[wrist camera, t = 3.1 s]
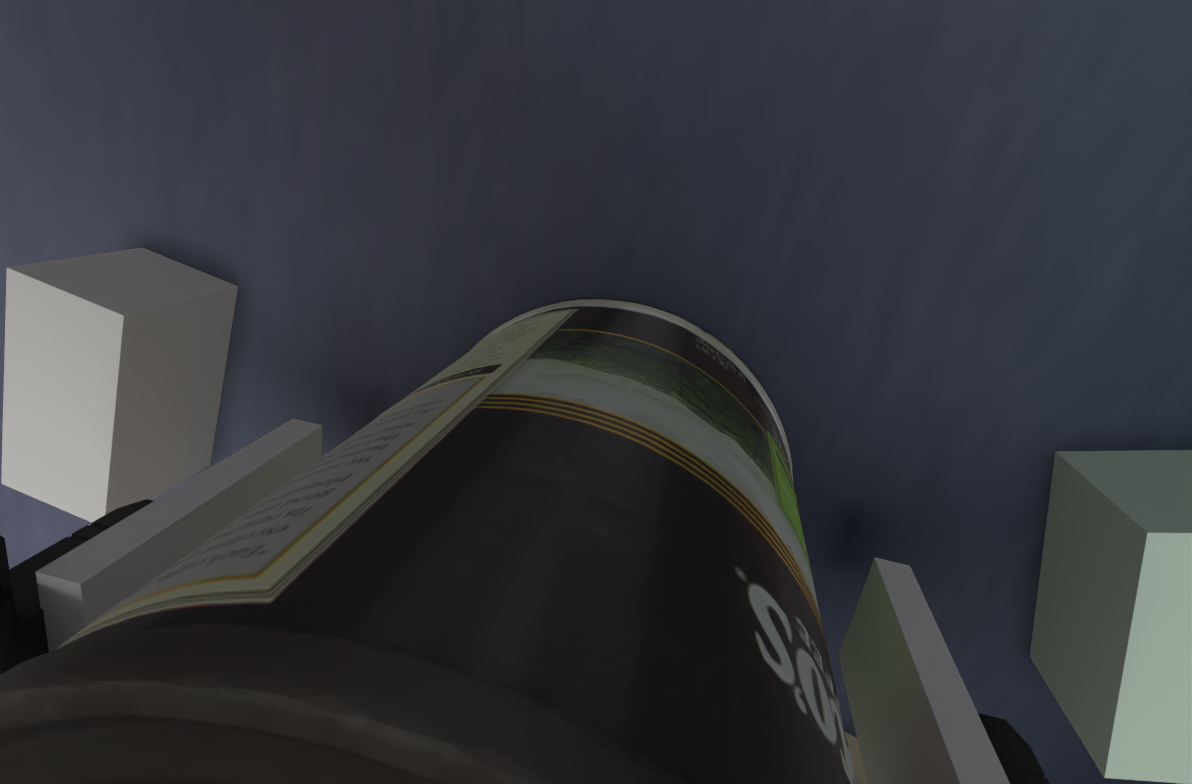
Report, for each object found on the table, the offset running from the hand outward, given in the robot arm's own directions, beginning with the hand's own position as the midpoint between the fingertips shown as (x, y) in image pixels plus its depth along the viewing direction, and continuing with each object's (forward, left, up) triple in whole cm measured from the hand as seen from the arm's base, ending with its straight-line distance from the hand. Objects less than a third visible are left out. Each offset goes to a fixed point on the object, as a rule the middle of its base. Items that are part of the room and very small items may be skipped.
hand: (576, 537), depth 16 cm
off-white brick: (-1, -13, -3) cm, 13 cm away
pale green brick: (-1, +13, -3) cm, 13 cm away
